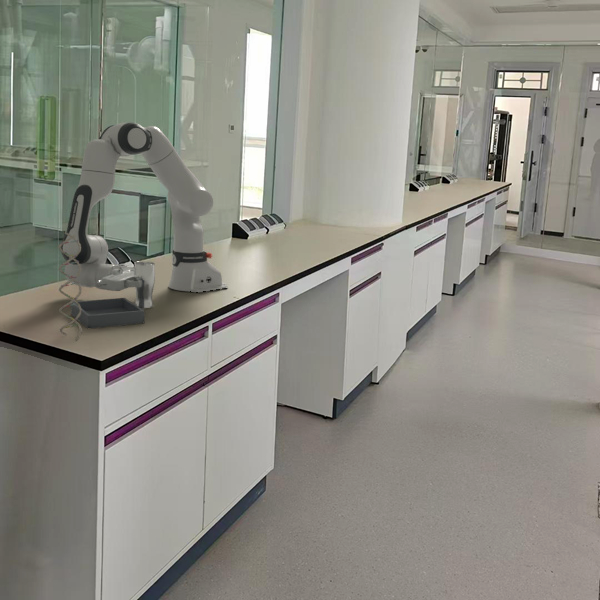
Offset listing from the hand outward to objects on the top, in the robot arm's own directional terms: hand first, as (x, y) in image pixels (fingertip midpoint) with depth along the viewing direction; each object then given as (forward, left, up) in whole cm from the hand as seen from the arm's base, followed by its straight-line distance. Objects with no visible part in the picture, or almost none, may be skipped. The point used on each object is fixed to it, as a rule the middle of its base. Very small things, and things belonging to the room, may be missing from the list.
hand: (146, 282), depth 244 cm
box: (+17, +9, -9) cm, 21 cm away
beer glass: (+1, -1, -9) cm, 9 cm away
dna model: (+33, +25, -9) cm, 42 cm away
